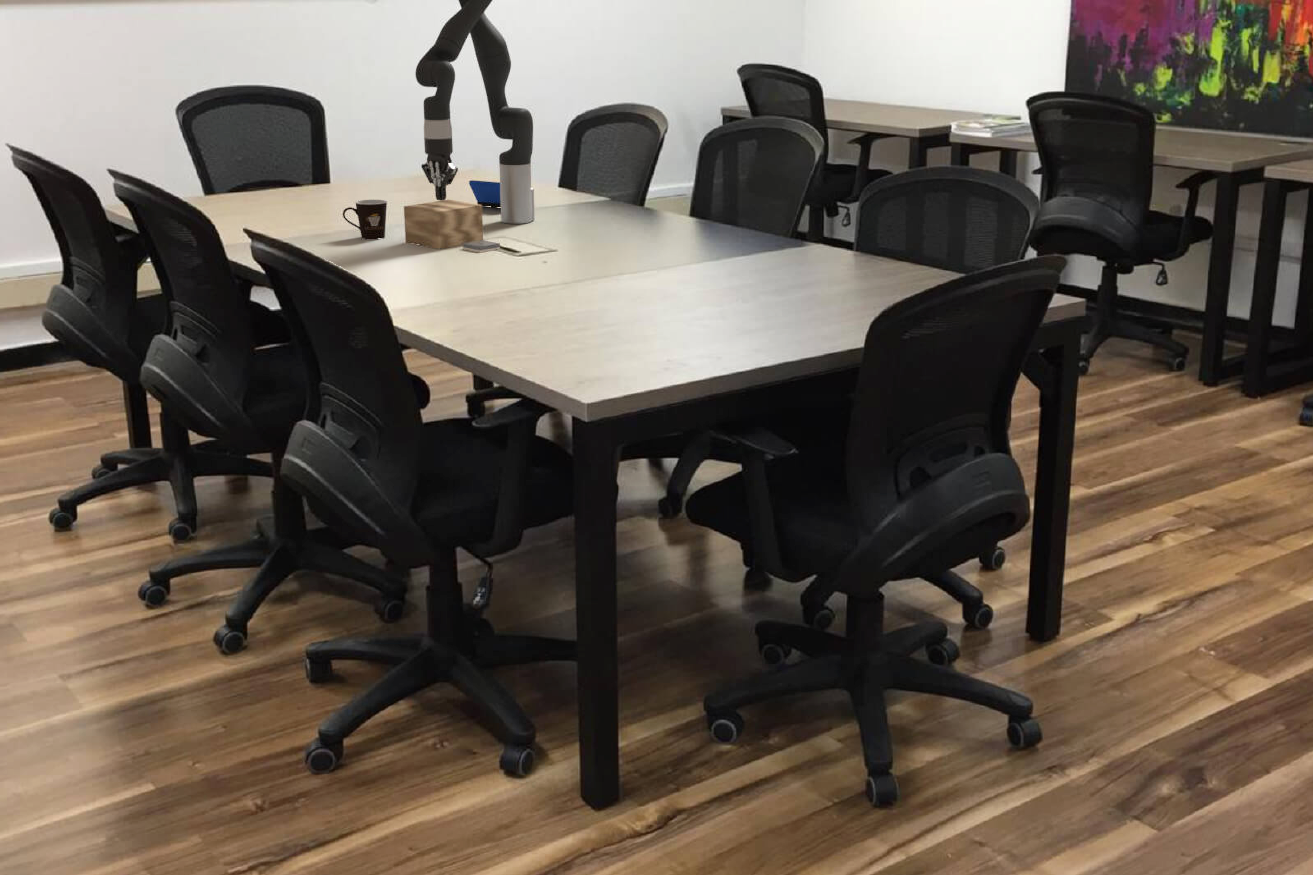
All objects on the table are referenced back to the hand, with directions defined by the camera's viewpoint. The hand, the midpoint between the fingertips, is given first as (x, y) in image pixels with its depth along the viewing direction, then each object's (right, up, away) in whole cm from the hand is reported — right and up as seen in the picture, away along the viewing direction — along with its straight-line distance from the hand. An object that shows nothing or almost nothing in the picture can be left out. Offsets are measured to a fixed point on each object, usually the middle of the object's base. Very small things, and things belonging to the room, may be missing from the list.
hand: (441, 199), depth 408 cm
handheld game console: (+10, +7, +59) cm, 61 cm away
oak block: (+1, -11, +3) cm, 12 cm away
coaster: (+12, -13, -7) cm, 19 cm away
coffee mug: (-22, -9, +9) cm, 25 cm away
